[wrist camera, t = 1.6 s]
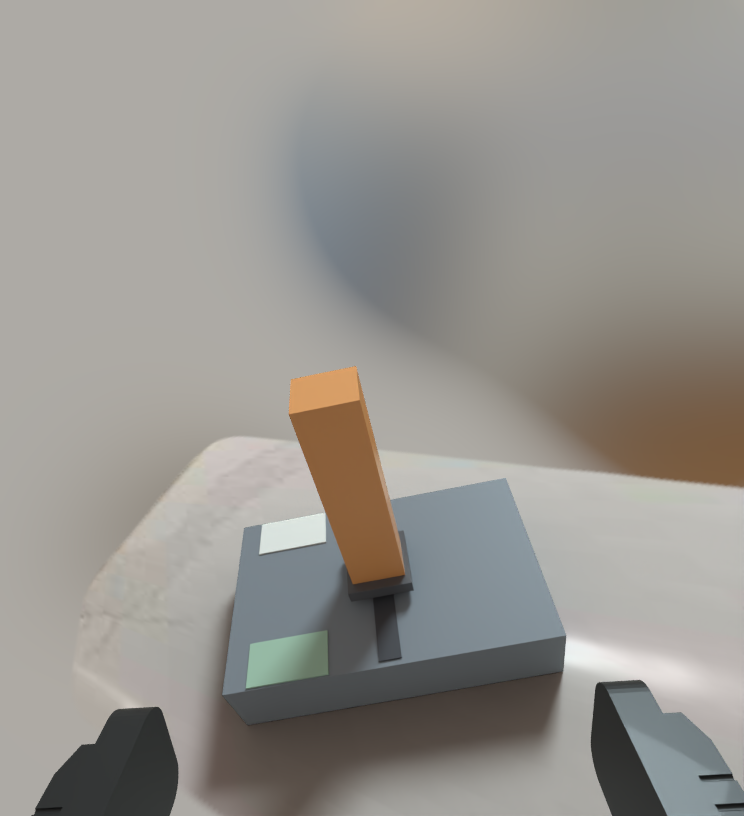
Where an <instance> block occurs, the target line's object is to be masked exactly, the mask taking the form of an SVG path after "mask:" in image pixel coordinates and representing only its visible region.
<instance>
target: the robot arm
mask: <svg viewBox="0 0 744 816" xmlns="http://www.w3.org/2000/svg"><path fill="white" fill-rule="evenodd" d="M591 751H592V758H593V763H594V767H595V771H596V774H597V777H598V780H599V783H600V786H601V788H602V791H603V793H604V796H605V798H606V801H607V804H608V806H609V809H610V811H611V814H612V816H744V791H743V790H742V788H741V787H740V785H739V783H738V782H737V781H735V780H734V778H733V776H732V772H731V771H730V769H729V767H728V766H727V764H726V763H725V761H724V760H723V758H722V756H721V755H720V753H719V752H718V750H717V748H716V747H715V745H714V744H713V742H712V740H711V739H710V738H709V737H707V736H706V735H705V734H704V733H703V732H702V731H701V730H700V729H699V728H698V727H697V726H695V725H694V724H693V723H692V722H691V721H690V720H689V719H688V718H687V717H686V716H685V715H683V714H682V713H681V712H680V713H662V711H661V709H660V707H659V706H658V704H657V702H656V700H655V699H654V697H653V695H652V693H651V692H650V690H649V688H648V687H647V686H646V684H645V683H644V682H643V681H641V680H632V681H615V682H599V683H597V685H596V689H595V699H594V710H593V721H592V732H591ZM177 786H178V762H177V758H176V755H175V752H174V749H173V745H172V742H171V739H170V735H169V732H168V729H167V726H166V722H165V719H164V716H163V713H162V711H161V709H160V708H159V707H146V708H129V709H118V710H116V711H114V712H113V713H112V714H111V715H110V717H109V718H108V720H107V722H106V724H105V726H104V728H103V730H102V732H101V734H100V736H99V737H98V739H97V741H96V743H95V744H87V745H81V746H80V747H79V748H78V749H77V751H76V752H75V753H74V754H73V755H72V756H71V757H70V758H69V759H68V760H67V761H66V762H65V763H64V765H63V766H62V767H61V768H60V769H59V770H58V771H57V772H56V773H55V774H54V776H53V778H52V780H51V781H50V783H49V785H48V787H47V788H46V790H45V792H44V794H43V796H42V798H41V799H40V801H39V803H38V805H37V806H36V808H35V809H36V811H35V814H34V815H32V816H169V815H170V813H171V810H172V807H173V804H174V800H175V796H176V792H177Z"/></svg>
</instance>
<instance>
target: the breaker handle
mask: <svg viewBox="0 0 744 816" xmlns="http://www.w3.org/2000/svg"><path fill="white" fill-rule="evenodd" d="M289 403H290V404H289V416H290V419H291V421H292V424H293V427H294V429H295V432H296V435H297V438H298V440H299V443H300V446H301V448H302V451H303V454H304V456H305V459H306V461H307V464H308V467H309V469H310V472H311V475H312V477H313V480H314V483H315V485H316V488H317V491H318V493H319V496H320V499H321V501H322V504H323V507H324V509H325V512H326V515H327V517H328V520H329V522H330V525H331V528H332V530H333V533H334V536H335V538H336V541H337V544H338V546H339V549H340V552H341V554H342V557H343V560H344V562H345V565H346V568H347V583H348V595H349V598H350V600H351V602H353V601H358V600H364V599H369V598H375V597H380V596H386V595H391V594H397V593H403V592H408V591H414V588H413V581H412V575H411V569H410V563H409V557H408V551H407V544H406V538H405V534H404V530H402V531H398V529H397V526H396V522H395V518H394V514H393V510H392V506H391V502H390V498H389V494H388V490H387V486H386V482H385V478H384V474H383V470H382V466H381V462H380V458H379V455H378V451H377V447H376V443H375V439H374V435H373V431H372V427H371V423H370V419H369V415H368V411H367V407H366V403H365V399H364V395H363V391H362V388H361V384H360V380H359V376H358V372H357V368H356V366H354V367H349V368H345V369H339V370H335V371H330V372H325V373H320V374H315V375H310V376H305V377H300V378H296V379H291V387H290V402H289Z"/></svg>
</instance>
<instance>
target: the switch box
mask: <svg viewBox="0 0 744 816" xmlns="http://www.w3.org/2000/svg"><path fill="white" fill-rule="evenodd" d="M390 502H391V506H392V510H393V514H394V518H395V522H396V526H397V529H398V531H402V530H404V534H405V538H406V544H407V551H408V557H409V563H410V569H411V575H412V581H413V588H414V591H408V592H403V593H397V594H391V595H386V596H380V597H375V598H369V599H364V600H358V601H353V602H351V600H350V598H349V595H348V583H347V568H346V565H345V562H344V560H343V557H342V554H341V552H340V549H339V546H338V544H337V541H336V538H335V536H334V533H333V530H332V528H331V525H330V522H329V520H328V517H327V515H326V512H325V513H320V514H314V515H309V516H304V517H299V518H294V519H288V520H283V521H278V522H273V523H267V524H262V525H257V526H252V527H246V528H244V534H243V541H242V549H241V556H240V564H239V571H238V579H237V587H236V594H235V602H234V609H233V617H232V624H231V632H230V640H229V647H228V655H227V662H226V670H225V678H224V685H223V693H222V696H223V697H224V698H225V699H226V700H227V702H228V703H229V704H230V705H231V706H232V707H233V709H234V710H235V711H236V712H237V713H238V715H239V716H240V717H241V718H242V719H243V720H244V722H245V723H246V724H247V725H251V724H257V723H263V722H269V721H275V720H281V719H287V718H293V717H298V716H304V715H310V714H316V713H322V712H328V711H334V710H339V709H345V708H351V707H357V706H363V705H369V704H375V703H380V702H386V701H392V700H398V699H404V698H410V697H416V696H421V695H427V694H433V693H439V692H445V691H451V690H457V689H462V688H468V687H474V686H480V685H486V684H492V683H498V682H503V681H509V680H515V679H521V678H527V677H533V676H539V675H544V674H550V673H556V672H562V671H563V668H564V656H565V644H566V634H565V631H564V628H563V626H562V623H561V621H560V618H559V615H558V613H557V610H556V608H555V605H554V602H553V600H552V597H551V595H550V592H549V589H548V587H547V584H546V582H545V579H544V576H543V574H542V571H541V569H540V566H539V563H538V561H537V558H536V556H535V553H534V550H533V548H532V545H531V543H530V540H529V537H528V535H527V532H526V530H525V527H524V524H523V522H522V519H521V517H520V514H519V511H518V509H517V506H516V504H515V501H514V498H513V496H512V493H511V491H510V488H509V485H508V483H507V480H506V478H503V479H498V480H492V481H487V482H482V483H477V484H471V485H466V486H461V487H456V488H451V489H445V490H440V491H435V492H430V493H424V494H419V495H414V496H409V497H403V498H398V499H393V500H390Z"/></svg>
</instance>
